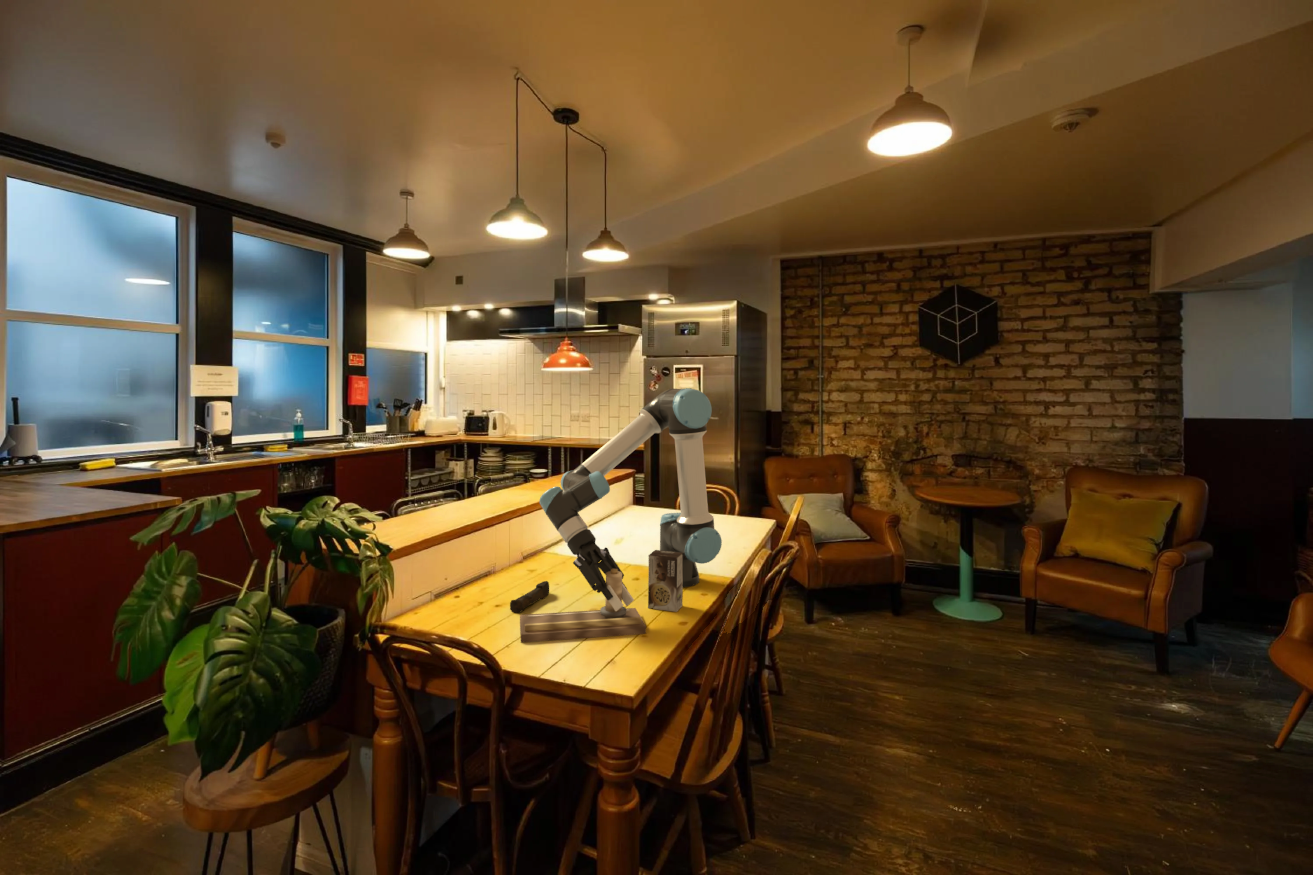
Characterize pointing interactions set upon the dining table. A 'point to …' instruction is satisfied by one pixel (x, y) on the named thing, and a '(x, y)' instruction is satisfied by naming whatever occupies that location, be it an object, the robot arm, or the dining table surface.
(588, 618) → the walnut board
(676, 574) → the coffee box
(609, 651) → the dining table surface
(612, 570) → the peg with round base
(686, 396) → the robot arm
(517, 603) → the hand tool
